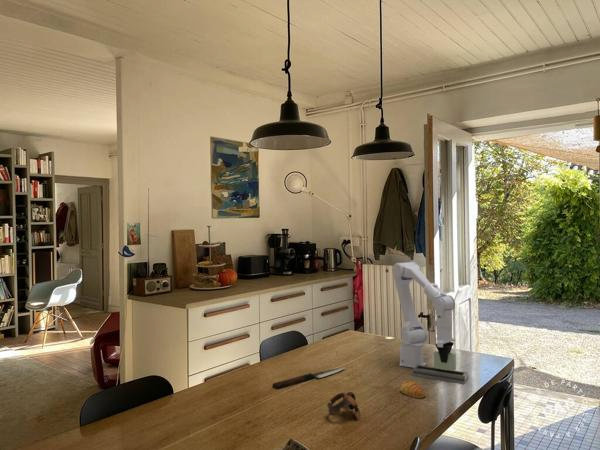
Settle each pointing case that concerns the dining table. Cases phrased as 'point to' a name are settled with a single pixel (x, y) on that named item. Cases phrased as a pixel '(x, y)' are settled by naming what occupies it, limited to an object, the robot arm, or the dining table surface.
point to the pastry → (412, 389)
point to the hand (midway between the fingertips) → (444, 361)
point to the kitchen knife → (304, 378)
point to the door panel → (449, 365)
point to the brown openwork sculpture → (344, 404)
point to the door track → (440, 374)
